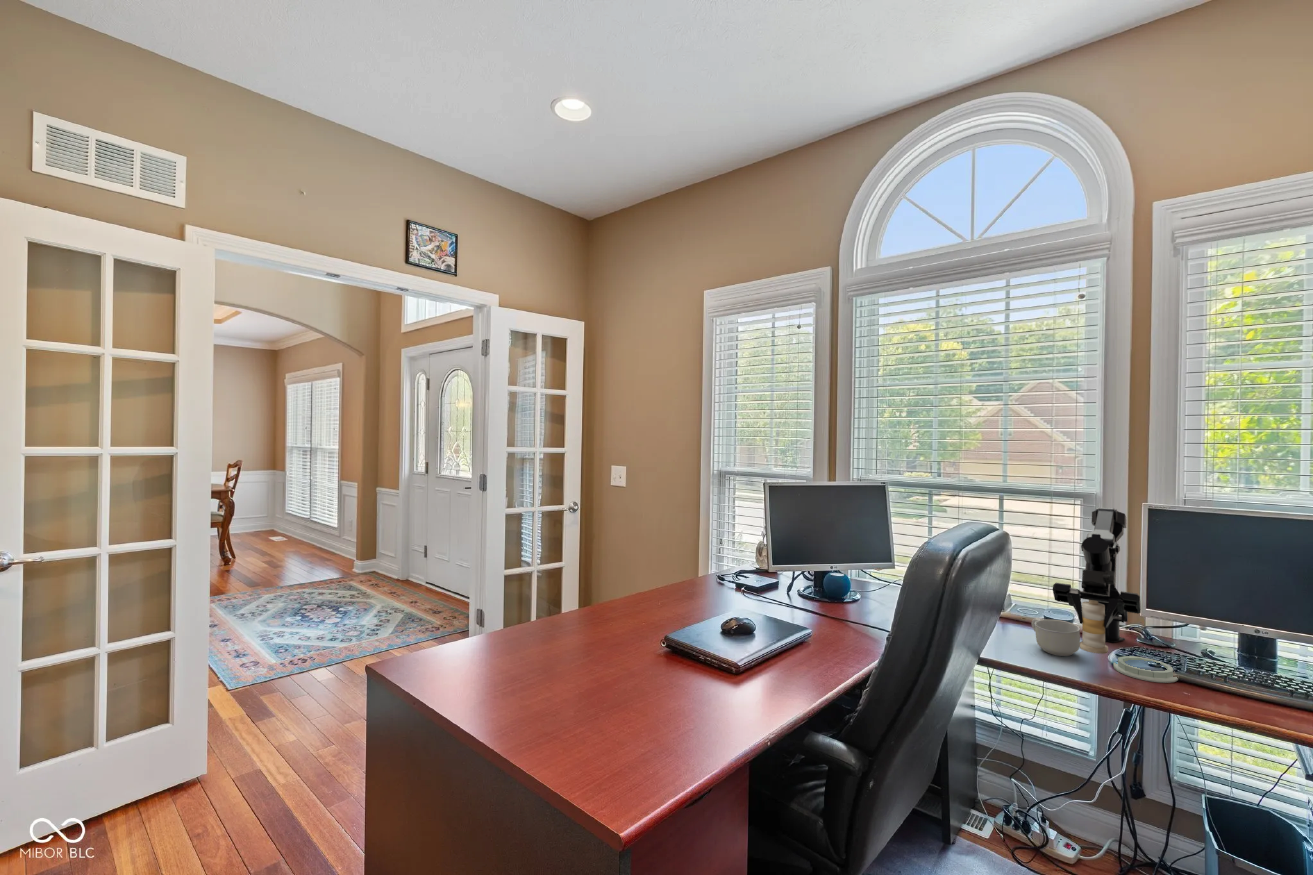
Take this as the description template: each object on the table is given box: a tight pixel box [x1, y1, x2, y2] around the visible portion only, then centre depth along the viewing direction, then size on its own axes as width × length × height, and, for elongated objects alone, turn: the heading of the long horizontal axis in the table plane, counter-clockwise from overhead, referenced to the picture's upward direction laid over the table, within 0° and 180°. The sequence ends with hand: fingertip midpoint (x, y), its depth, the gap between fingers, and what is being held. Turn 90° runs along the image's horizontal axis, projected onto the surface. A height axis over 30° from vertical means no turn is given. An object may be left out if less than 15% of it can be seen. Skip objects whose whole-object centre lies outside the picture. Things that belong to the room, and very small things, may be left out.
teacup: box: [1031, 617, 1081, 657], centre depth 170 cm, size 14×11×8 cm
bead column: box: [1079, 600, 1109, 655], centre depth 155 cm, size 6×6×13 cm
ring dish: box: [1113, 655, 1179, 684], centre depth 153 cm, size 13×13×2 cm
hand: (1092, 624), depth 154 cm, fingers closed on bead column, 5 cm apart
